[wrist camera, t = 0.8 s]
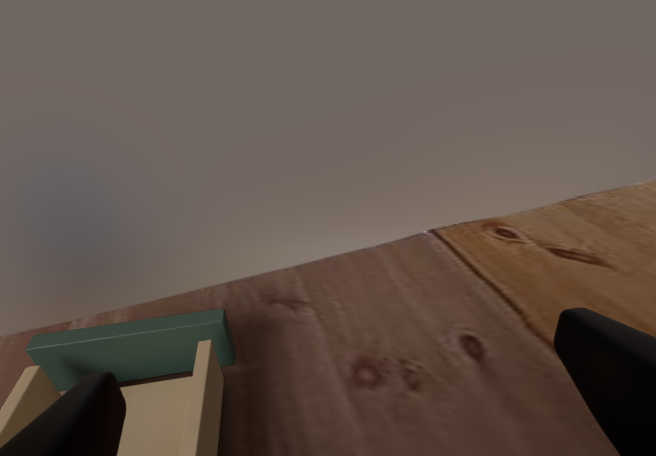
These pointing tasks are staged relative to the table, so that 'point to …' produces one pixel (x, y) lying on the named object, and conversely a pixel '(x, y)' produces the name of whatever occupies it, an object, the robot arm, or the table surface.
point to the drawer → (131, 364)
